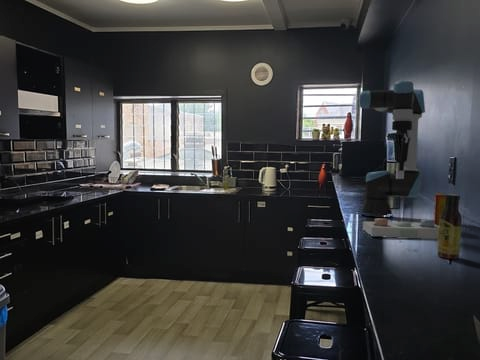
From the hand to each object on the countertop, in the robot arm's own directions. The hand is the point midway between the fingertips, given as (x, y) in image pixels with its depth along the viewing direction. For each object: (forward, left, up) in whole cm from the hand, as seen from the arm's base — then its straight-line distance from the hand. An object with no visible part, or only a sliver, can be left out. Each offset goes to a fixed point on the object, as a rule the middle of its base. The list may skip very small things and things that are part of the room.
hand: (399, 178), depth 180 cm
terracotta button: (+8, -9, -19) cm, 22 cm away
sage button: (+8, 0, -20) cm, 22 cm away
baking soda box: (-4, +20, -22) cm, 30 cm away
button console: (+7, 0, -22) cm, 23 cm away
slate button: (+8, +9, -19) cm, 22 cm away
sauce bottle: (+44, +2, -22) cm, 49 cm away
